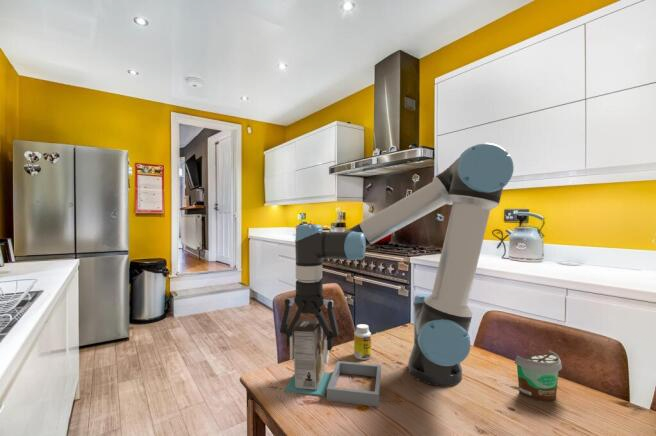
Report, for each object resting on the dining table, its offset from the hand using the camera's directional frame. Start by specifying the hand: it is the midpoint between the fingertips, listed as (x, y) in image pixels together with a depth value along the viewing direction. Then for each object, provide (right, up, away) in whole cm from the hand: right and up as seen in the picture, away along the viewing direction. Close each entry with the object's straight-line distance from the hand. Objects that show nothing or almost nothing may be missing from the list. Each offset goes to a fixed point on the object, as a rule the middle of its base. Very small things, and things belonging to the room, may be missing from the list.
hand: (309, 359), depth 85 cm
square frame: (+13, -6, -2) cm, 15 cm away
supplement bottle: (+17, -7, +16) cm, 24 cm away
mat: (0, -7, 0) cm, 7 cm away
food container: (+61, -7, -7) cm, 62 cm away
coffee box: (0, -6, 0) cm, 6 cm away
